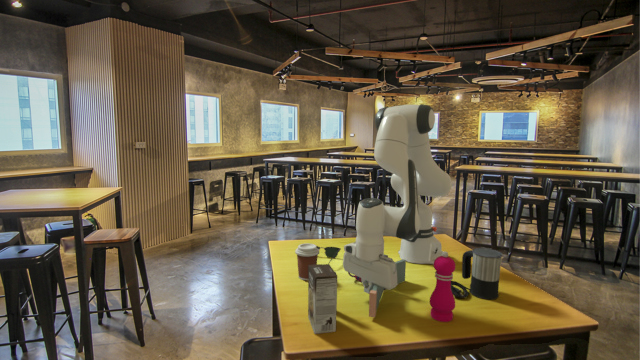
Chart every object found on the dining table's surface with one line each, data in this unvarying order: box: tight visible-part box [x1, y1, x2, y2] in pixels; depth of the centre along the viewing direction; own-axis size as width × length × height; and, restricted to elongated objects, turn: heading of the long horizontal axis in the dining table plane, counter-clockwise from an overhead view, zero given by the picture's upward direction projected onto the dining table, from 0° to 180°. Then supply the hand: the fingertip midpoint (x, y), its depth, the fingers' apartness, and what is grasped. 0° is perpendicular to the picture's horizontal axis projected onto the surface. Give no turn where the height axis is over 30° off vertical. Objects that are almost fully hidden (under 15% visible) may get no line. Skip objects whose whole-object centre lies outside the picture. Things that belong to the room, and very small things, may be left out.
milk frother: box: [451, 247, 503, 300], centre depth 120 cm, size 14×16×15 cm
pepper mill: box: [429, 250, 456, 323], centre depth 105 cm, size 7×7×20 cm
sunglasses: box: [316, 245, 342, 265], centre depth 149 cm, size 16×17×5 cm
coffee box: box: [307, 263, 338, 335], centre depth 100 cm, size 9×6×16 cm
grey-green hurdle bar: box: [368, 284, 385, 318], centre depth 113 cm, size 21×2×7 cm, turn 162°
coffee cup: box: [294, 243, 320, 281], centre depth 134 cm, size 9×9×12 cm
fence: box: [334, 254, 407, 291], centre depth 119 cm, size 37×2×12 cm, turn 131°
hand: (368, 292), depth 114 cm, fingers closed
